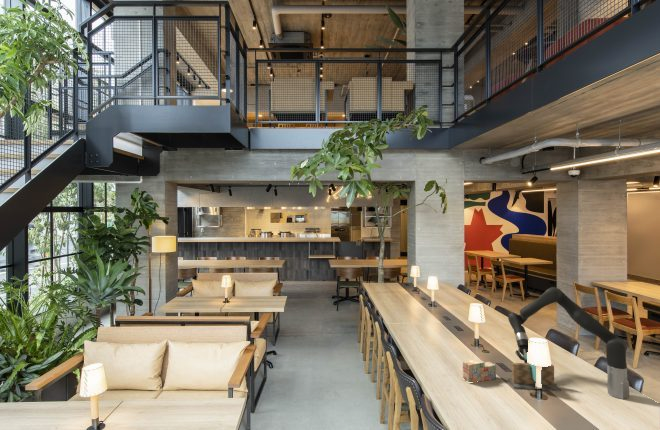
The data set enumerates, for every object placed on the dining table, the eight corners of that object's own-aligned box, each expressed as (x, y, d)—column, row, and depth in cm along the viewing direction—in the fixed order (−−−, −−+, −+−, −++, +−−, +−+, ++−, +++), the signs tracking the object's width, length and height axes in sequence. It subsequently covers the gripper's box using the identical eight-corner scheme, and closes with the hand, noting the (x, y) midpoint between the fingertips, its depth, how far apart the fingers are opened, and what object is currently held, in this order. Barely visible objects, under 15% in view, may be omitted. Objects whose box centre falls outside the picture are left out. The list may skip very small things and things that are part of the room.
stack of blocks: (489, 375, 246) (489, 357, 246) (496, 379, 240) (496, 360, 240) (462, 379, 240) (462, 361, 240) (469, 384, 234) (468, 364, 234)
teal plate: (524, 370, 241) (524, 351, 241) (528, 370, 241) (528, 352, 241) (537, 383, 221) (537, 364, 221) (541, 384, 221) (541, 364, 221)
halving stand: (551, 382, 235) (551, 361, 235) (560, 390, 223) (560, 369, 223) (507, 380, 239) (507, 359, 239) (514, 388, 227) (513, 367, 227)
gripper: (513, 337, 245) (520, 363, 233) (535, 338, 243) (543, 364, 231) (510, 343, 251) (517, 368, 238) (531, 343, 249) (539, 369, 236)
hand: (530, 366), depth 235 cm, fingers closed on teal plate, 2 cm apart
